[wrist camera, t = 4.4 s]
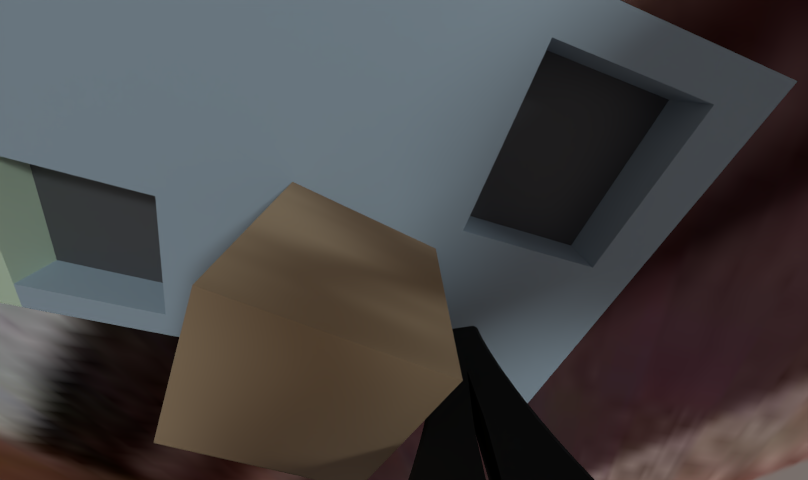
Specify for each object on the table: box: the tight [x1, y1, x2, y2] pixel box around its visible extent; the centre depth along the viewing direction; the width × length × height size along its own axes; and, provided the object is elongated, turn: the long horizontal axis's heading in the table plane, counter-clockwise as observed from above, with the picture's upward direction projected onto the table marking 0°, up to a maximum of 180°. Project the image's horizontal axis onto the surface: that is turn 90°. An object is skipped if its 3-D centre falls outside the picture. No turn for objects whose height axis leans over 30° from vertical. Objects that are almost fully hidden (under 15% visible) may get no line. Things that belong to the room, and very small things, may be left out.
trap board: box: [0, 0, 797, 403], centre depth 9 cm, size 25×13×2 cm, turn 72°
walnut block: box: [154, 182, 463, 480], centre depth 8 cm, size 4×4×4 cm
